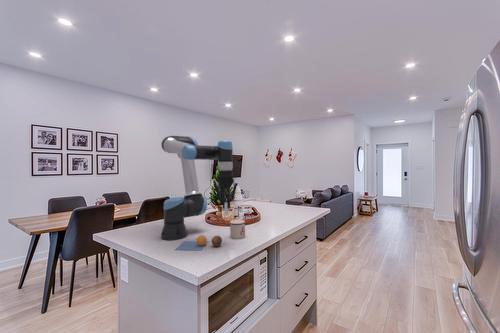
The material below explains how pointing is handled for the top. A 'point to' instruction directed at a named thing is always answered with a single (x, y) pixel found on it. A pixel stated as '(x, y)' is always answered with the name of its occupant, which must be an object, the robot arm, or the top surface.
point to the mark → (190, 246)
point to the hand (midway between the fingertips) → (226, 214)
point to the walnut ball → (216, 240)
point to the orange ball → (201, 240)
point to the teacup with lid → (237, 228)
